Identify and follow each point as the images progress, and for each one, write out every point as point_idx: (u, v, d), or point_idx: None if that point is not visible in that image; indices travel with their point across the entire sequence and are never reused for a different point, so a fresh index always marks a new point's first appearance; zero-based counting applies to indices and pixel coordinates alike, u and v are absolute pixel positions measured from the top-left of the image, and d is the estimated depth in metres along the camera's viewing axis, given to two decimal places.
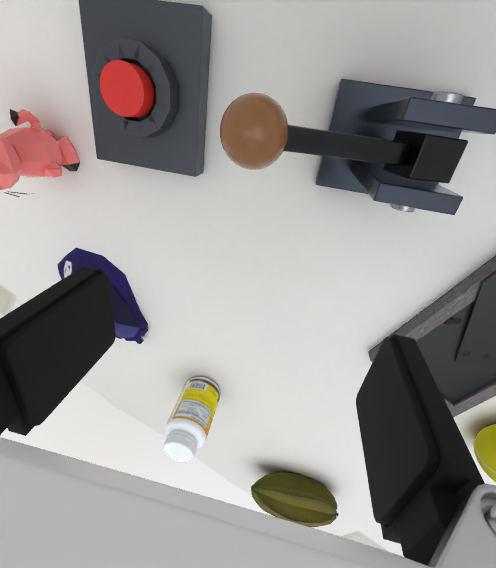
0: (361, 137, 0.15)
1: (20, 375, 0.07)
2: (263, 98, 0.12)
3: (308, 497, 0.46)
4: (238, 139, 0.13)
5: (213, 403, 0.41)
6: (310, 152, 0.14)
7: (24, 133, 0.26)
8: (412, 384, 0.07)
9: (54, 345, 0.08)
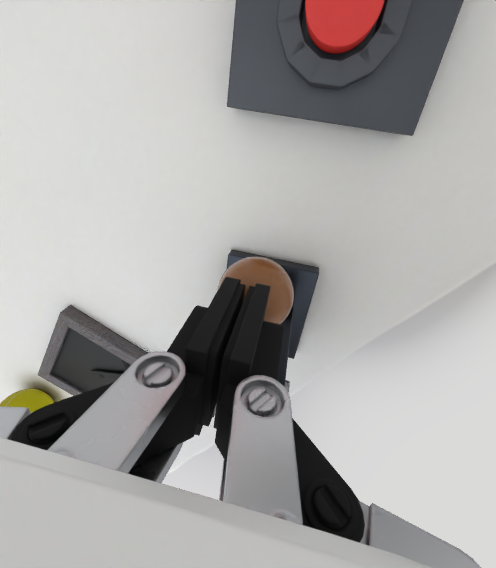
0: None
1: (214, 380, 0.08)
2: (285, 316, 0.12)
3: None
4: None
5: None
6: None
7: None
8: (244, 314, 0.08)
9: (224, 352, 0.08)
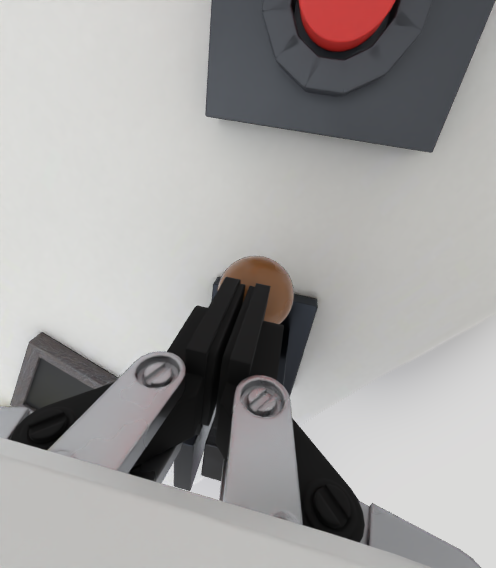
0: None
1: (214, 380, 0.08)
2: (287, 310, 0.12)
3: None
4: (247, 283, 0.11)
5: None
6: None
7: None
8: (244, 314, 0.08)
9: (224, 352, 0.08)
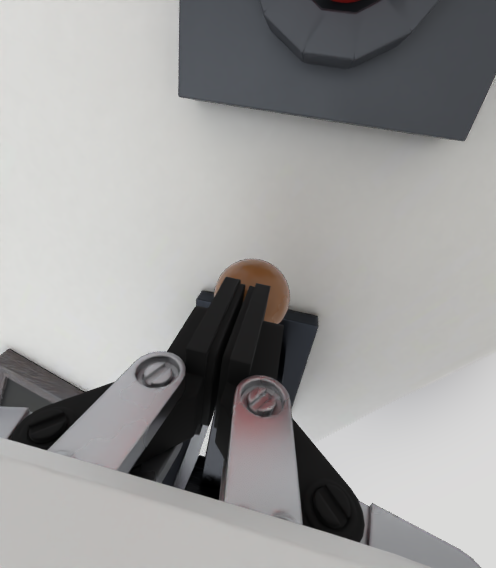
0: None
1: (213, 380, 0.08)
2: (284, 306, 0.12)
3: None
4: (247, 274, 0.11)
5: None
6: None
7: None
8: (243, 314, 0.08)
9: (224, 352, 0.08)
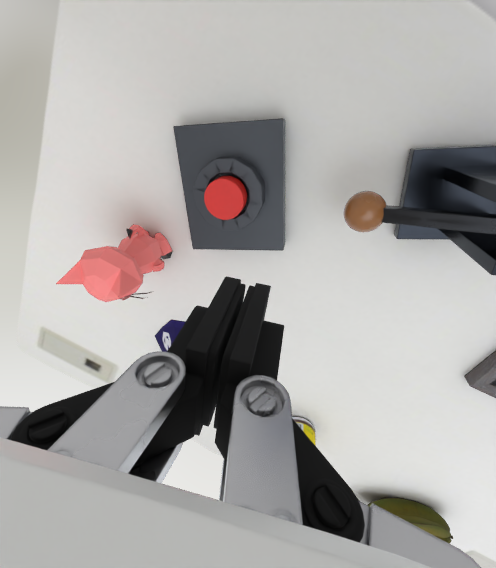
0: (445, 214, 0.20)
1: (214, 380, 0.08)
2: (364, 196, 0.22)
3: (419, 523, 0.46)
4: (347, 217, 0.23)
5: (312, 442, 0.43)
6: (401, 223, 0.22)
7: (135, 243, 0.31)
8: (243, 314, 0.08)
9: (224, 352, 0.08)
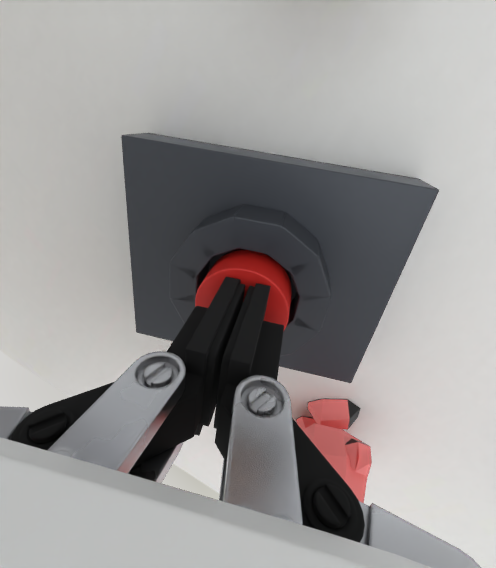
0: None
1: (213, 380, 0.08)
2: None
3: None
4: None
5: None
6: None
7: None
8: (244, 314, 0.08)
9: (224, 352, 0.08)
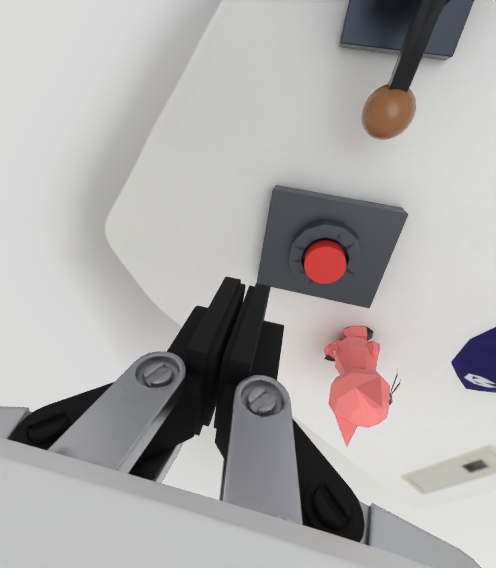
0: None
1: (213, 380, 0.08)
2: (366, 114, 0.19)
3: None
4: (386, 137, 0.19)
5: None
6: (417, 63, 0.17)
7: (341, 357, 0.31)
8: (243, 314, 0.08)
9: (224, 352, 0.08)
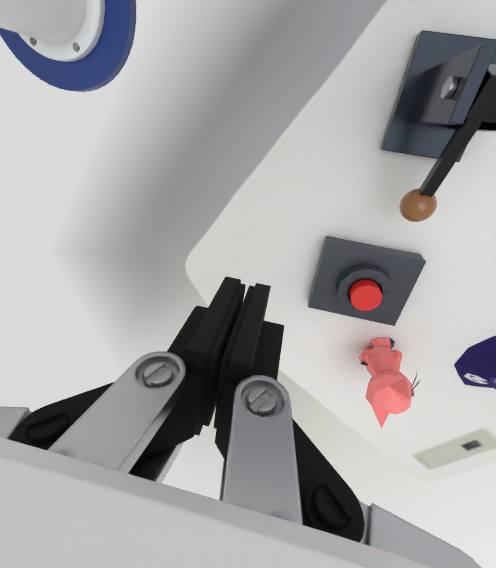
0: (445, 155, 0.25)
1: (214, 380, 0.08)
2: (404, 207, 0.29)
3: None
4: (416, 221, 0.29)
5: None
6: (439, 184, 0.27)
7: (372, 362, 0.41)
8: (244, 314, 0.08)
9: (224, 352, 0.08)
